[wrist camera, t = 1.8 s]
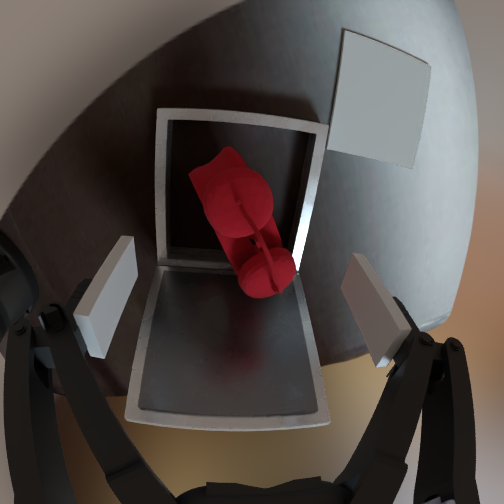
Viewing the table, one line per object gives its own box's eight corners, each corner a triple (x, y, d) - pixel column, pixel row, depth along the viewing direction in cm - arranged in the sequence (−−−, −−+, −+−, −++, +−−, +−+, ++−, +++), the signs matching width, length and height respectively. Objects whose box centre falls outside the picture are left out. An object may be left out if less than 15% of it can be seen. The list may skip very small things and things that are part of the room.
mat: (325, 148, 26) (327, 149, 25) (343, 31, 19) (345, 30, 19) (410, 168, 27) (412, 169, 27) (429, 66, 20) (431, 66, 20)
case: (162, 253, 31) (157, 268, 28) (163, 107, 22) (155, 108, 20) (292, 261, 32) (297, 277, 30) (320, 122, 24) (330, 126, 22)
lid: (156, 262, 27) (157, 271, 28) (122, 416, 15) (127, 420, 16) (300, 271, 29) (297, 279, 30) (332, 420, 17) (327, 424, 18)
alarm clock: (185, 155, 25) (139, 219, 12) (246, 131, 24) (265, 168, 12) (225, 242, 30) (225, 353, 18) (279, 223, 30) (316, 325, 17)
